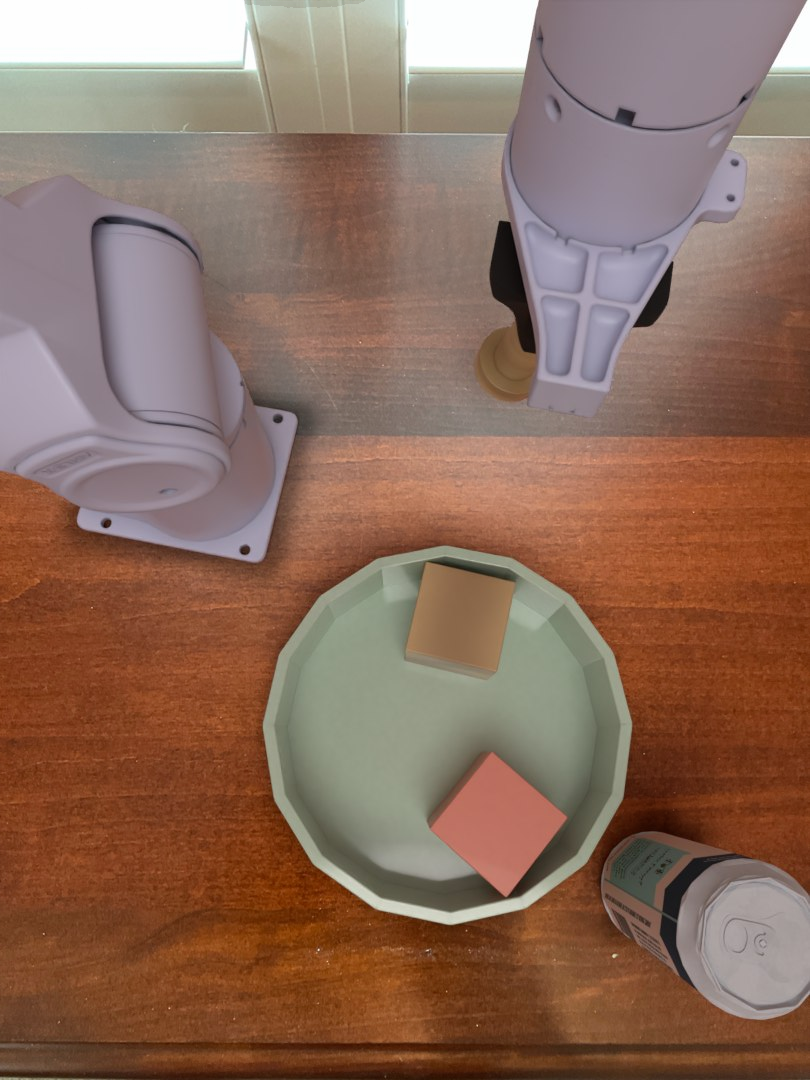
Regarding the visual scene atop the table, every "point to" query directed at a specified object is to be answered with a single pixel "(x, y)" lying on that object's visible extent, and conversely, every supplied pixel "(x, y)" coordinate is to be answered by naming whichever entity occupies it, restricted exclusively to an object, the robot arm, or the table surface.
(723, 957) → the beer can
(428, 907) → the dish
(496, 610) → the block maple
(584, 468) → the table surface
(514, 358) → the tan tall round piece
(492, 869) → the block coral
